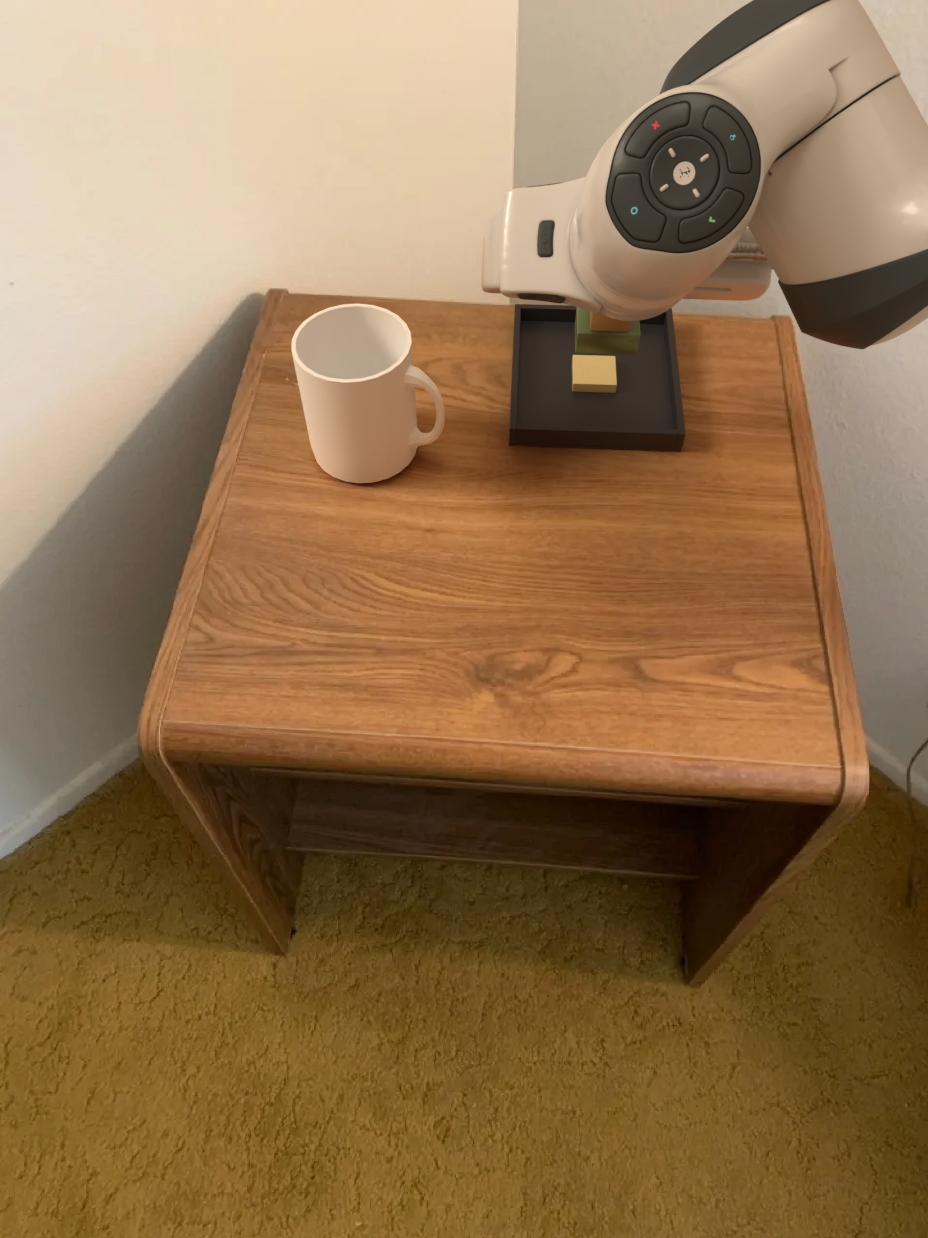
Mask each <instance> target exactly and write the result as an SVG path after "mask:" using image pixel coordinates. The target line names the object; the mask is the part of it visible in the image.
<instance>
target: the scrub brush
mask: <svg viewBox="0 0 928 1238" xmlns="http://www.w3.org/2000/svg"><path fill="white" fill-rule="evenodd" d="M640 336H641V335H640V322H639V321H624V320H618V319H614V318H611V317H608V316H605V315H603V314H601V313H600V312H590V311H587V310H584V309H581V308H578V307H577V309H576V317H575V352H576V353H597V354H626V355H637V352H638V346H639V341H640Z"/></svg>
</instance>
